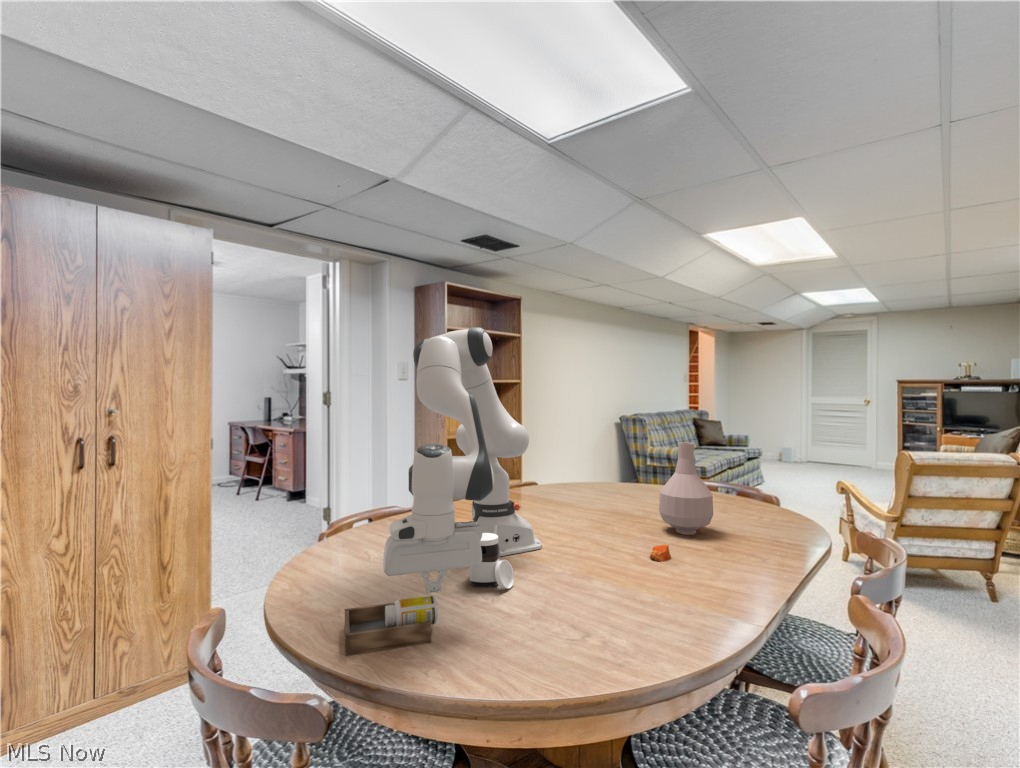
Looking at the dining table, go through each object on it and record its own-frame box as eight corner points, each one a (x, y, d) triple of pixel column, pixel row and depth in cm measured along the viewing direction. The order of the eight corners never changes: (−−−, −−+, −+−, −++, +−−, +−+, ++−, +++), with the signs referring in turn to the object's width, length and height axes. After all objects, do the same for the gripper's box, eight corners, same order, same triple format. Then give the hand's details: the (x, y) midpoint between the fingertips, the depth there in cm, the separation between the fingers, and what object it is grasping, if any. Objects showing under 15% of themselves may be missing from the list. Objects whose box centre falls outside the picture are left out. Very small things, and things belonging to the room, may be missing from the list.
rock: (632, 562, 149) (632, 547, 149) (644, 550, 159) (644, 536, 159) (675, 570, 143) (675, 554, 143) (685, 557, 153) (685, 542, 153)
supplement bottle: (432, 598, 112) (384, 604, 109) (436, 592, 108) (386, 598, 104) (435, 626, 109) (385, 633, 106) (439, 621, 105) (387, 628, 101)
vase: (718, 529, 179) (718, 442, 179) (707, 542, 165) (707, 447, 165) (667, 522, 189) (667, 439, 189) (652, 534, 174) (652, 444, 174)
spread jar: (471, 574, 138) (471, 530, 138) (514, 575, 137) (514, 531, 137) (466, 593, 126) (466, 544, 126) (513, 593, 125) (513, 545, 125)
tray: (422, 616, 113) (421, 599, 113) (431, 642, 102) (431, 623, 102) (344, 627, 108) (344, 609, 108) (345, 656, 97) (345, 635, 97)
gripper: (478, 516, 114) (478, 579, 114) (382, 524, 108) (382, 591, 108) (485, 523, 108) (486, 590, 108) (384, 532, 102) (384, 603, 102)
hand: (433, 591), depth 108 cm, fingers closed
